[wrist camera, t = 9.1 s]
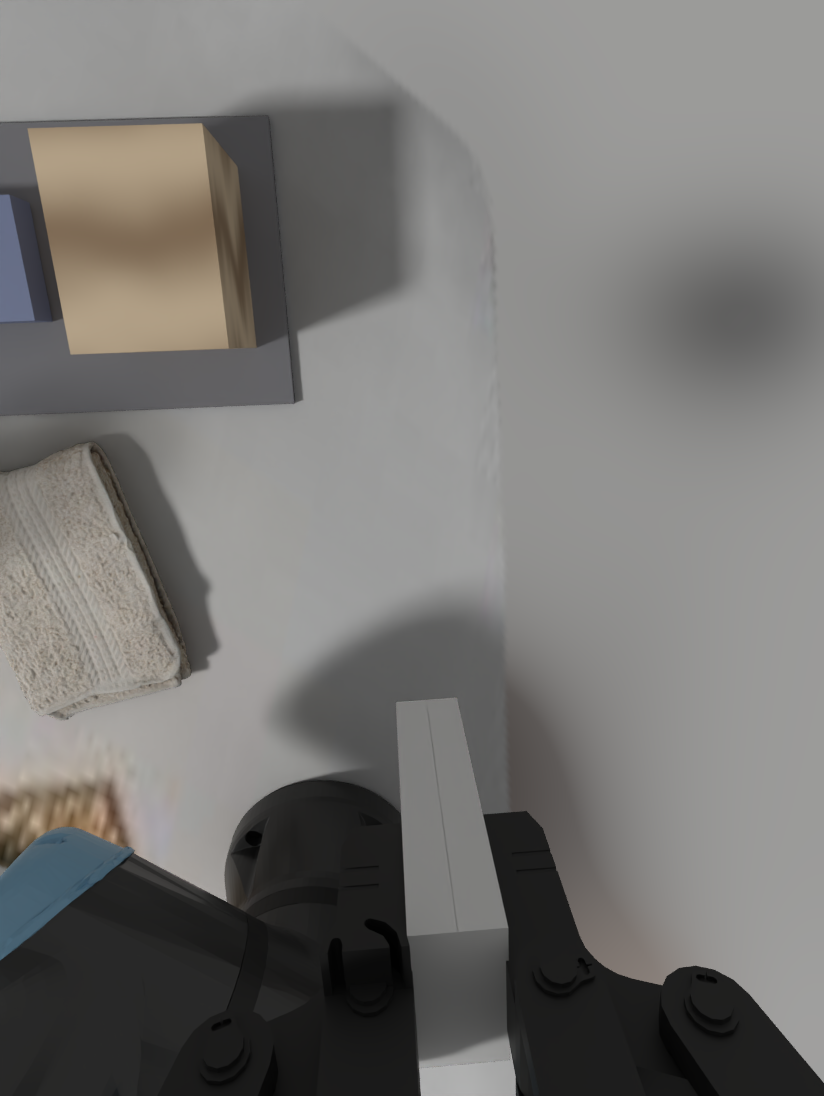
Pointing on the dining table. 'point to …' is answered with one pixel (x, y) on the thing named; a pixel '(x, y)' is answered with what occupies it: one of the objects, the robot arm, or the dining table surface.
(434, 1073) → the dining table surface
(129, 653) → the washcloth
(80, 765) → the dining table surface
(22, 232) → the card box
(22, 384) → the mat
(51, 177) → the oak block
